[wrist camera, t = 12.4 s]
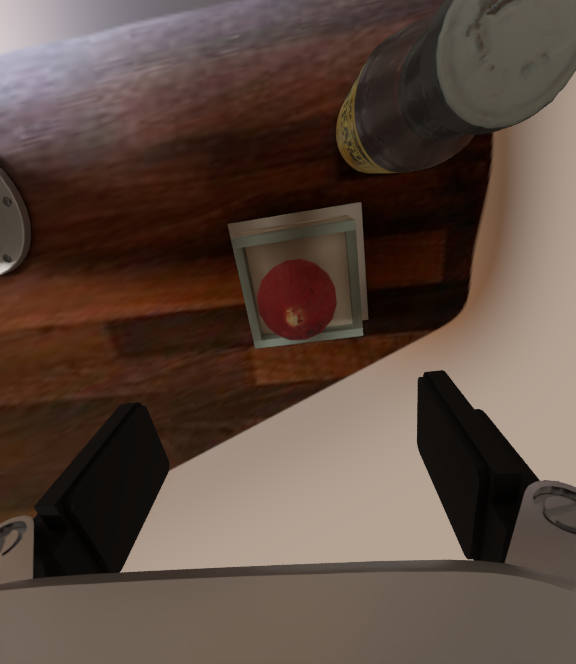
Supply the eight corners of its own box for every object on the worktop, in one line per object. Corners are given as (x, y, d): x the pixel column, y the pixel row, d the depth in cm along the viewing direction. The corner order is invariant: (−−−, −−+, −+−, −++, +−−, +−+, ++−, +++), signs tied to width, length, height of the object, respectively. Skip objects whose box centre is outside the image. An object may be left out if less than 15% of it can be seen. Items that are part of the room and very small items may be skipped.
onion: (344, 300, 27) (358, 341, 20) (284, 328, 28) (277, 377, 21) (313, 238, 25) (315, 258, 18) (251, 272, 26) (230, 303, 19)
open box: (253, 329, 34) (242, 357, 28) (230, 223, 30) (212, 231, 24) (366, 315, 33) (379, 342, 27) (359, 202, 28) (372, 205, 23)
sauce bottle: (336, 86, 25) (415, -185, 7) (416, 85, 25) (722, -202, 7) (331, 179, 28) (379, 159, 10) (404, 178, 27) (596, 157, 9)
